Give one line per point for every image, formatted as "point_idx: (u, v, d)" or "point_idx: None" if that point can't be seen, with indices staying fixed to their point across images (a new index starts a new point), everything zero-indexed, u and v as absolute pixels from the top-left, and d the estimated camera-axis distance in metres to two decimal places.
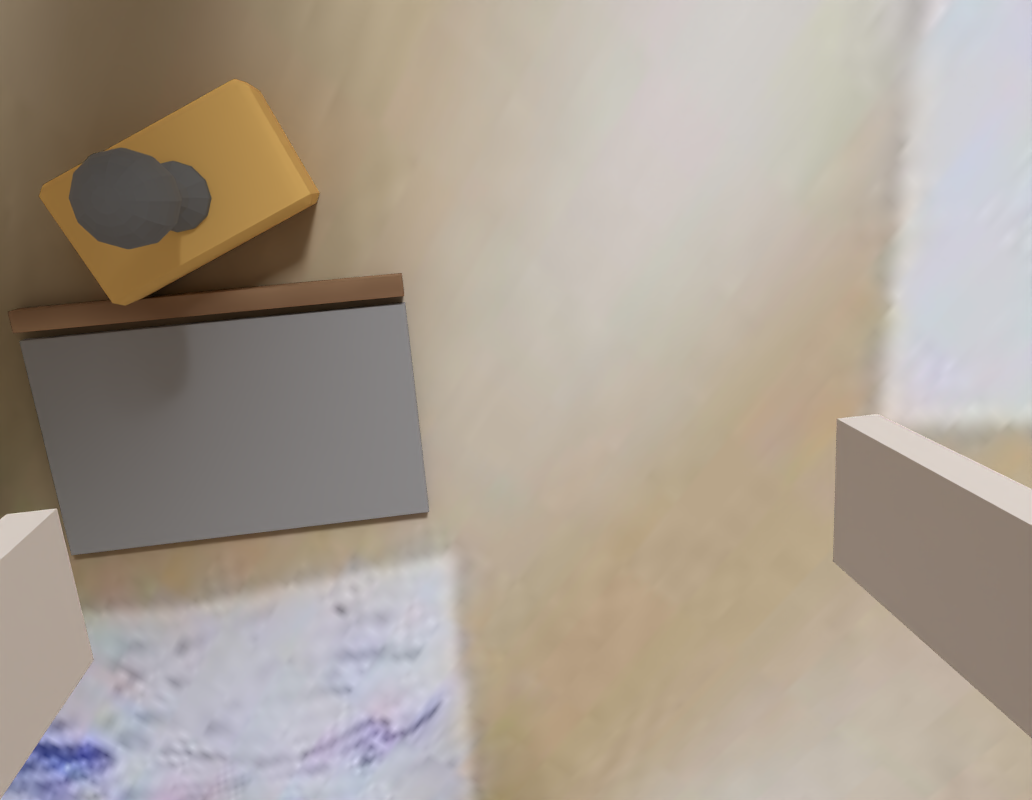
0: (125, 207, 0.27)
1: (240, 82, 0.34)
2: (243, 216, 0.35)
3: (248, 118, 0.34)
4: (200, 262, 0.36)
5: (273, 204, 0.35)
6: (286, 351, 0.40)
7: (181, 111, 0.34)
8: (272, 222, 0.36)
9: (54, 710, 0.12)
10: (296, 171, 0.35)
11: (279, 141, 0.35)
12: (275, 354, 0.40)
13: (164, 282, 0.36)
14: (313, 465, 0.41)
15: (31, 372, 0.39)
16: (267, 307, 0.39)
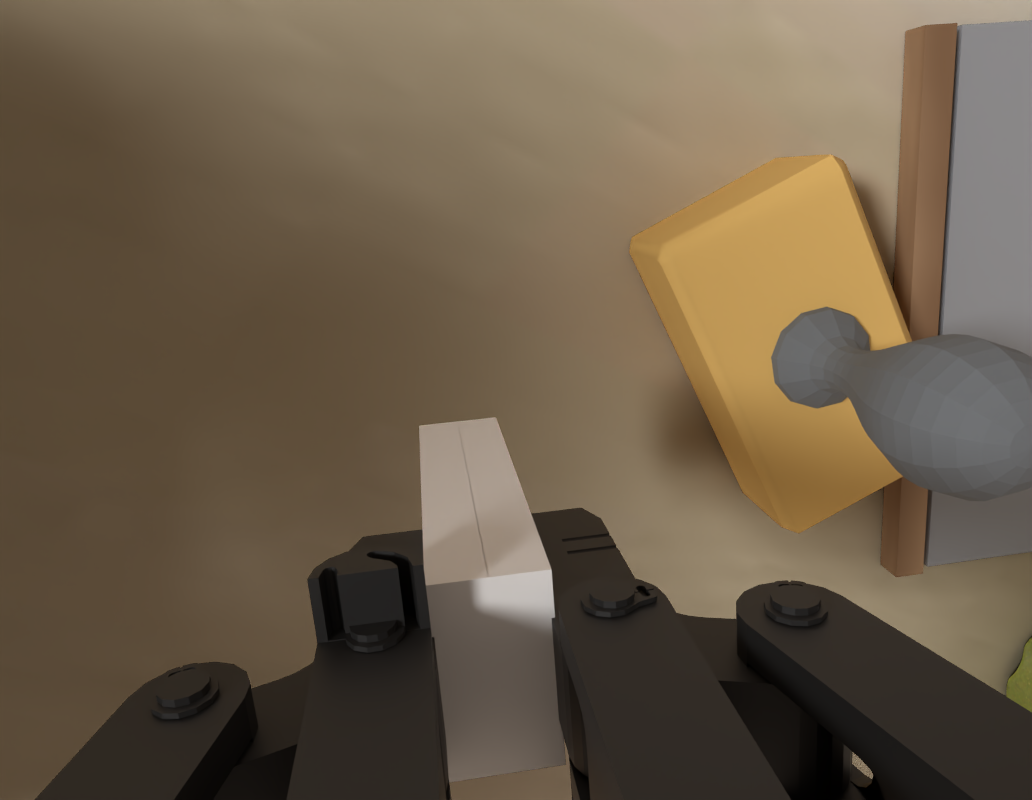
0: None
1: (667, 252, 0.22)
2: (856, 262, 0.23)
3: (721, 243, 0.22)
4: (907, 330, 0.24)
5: (845, 214, 0.22)
6: (1000, 221, 0.26)
7: (703, 340, 0.23)
8: (865, 218, 0.23)
9: None
10: (797, 175, 0.22)
11: (751, 199, 0.22)
12: (1001, 238, 0.26)
13: None
14: None
15: (967, 556, 0.29)
16: (941, 244, 0.26)
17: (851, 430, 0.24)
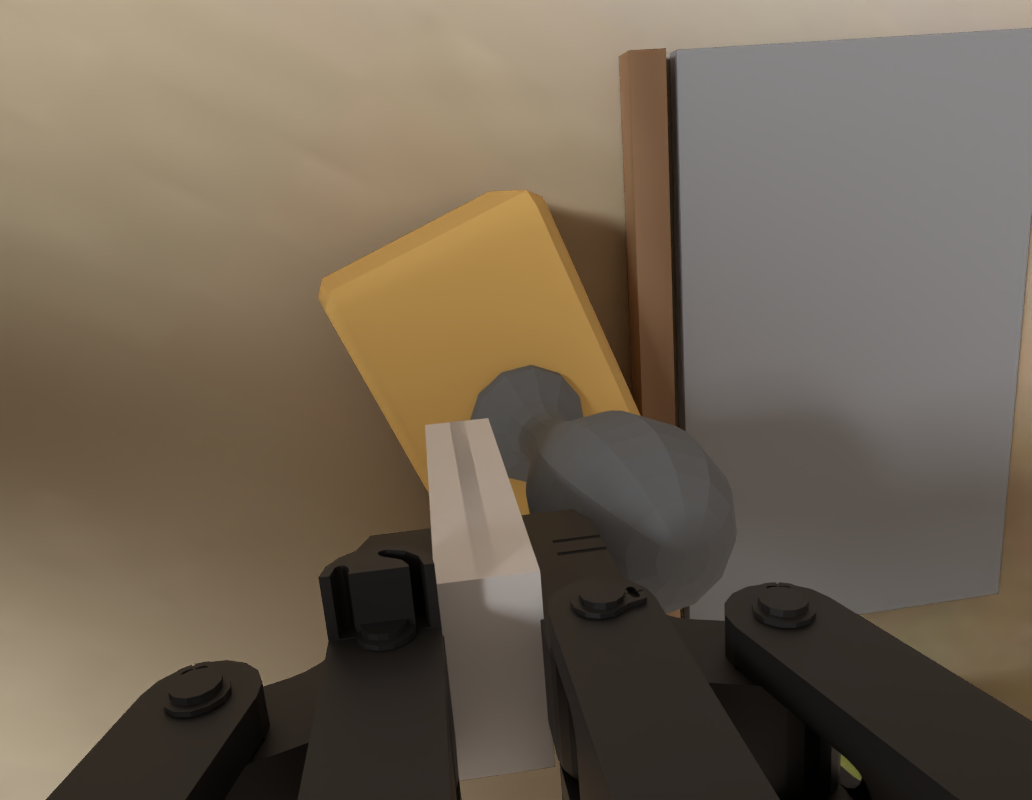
0: (696, 522, 0.13)
1: (333, 301, 0.18)
2: (562, 314, 0.20)
3: (397, 291, 0.19)
4: (627, 389, 0.21)
5: (545, 258, 0.19)
6: (740, 266, 0.24)
7: (386, 405, 0.19)
8: (571, 264, 0.20)
9: None
10: (487, 212, 0.19)
11: (434, 239, 0.19)
12: (743, 284, 0.24)
13: None
14: (930, 232, 0.24)
15: None
16: (669, 291, 0.23)
17: None
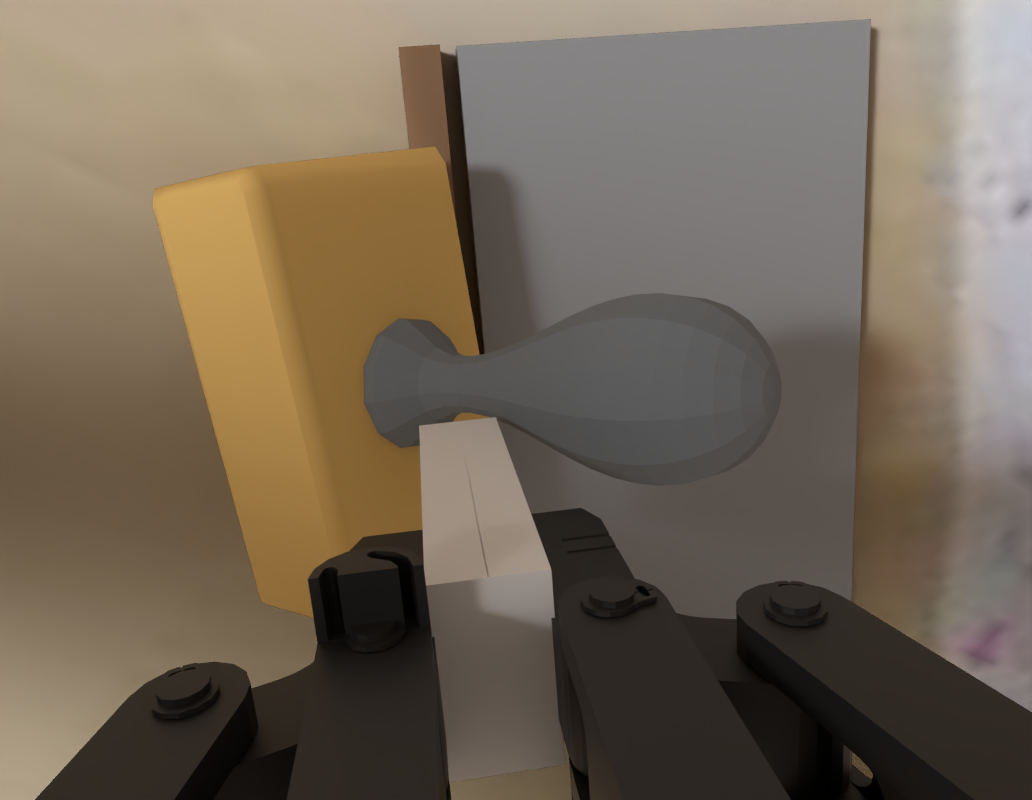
0: (775, 361, 0.14)
1: (256, 175, 0.15)
2: (451, 277, 0.19)
3: (325, 190, 0.16)
4: None
5: (445, 216, 0.19)
6: (542, 277, 0.22)
7: (286, 321, 0.16)
8: None
9: None
10: (404, 151, 0.18)
11: (358, 156, 0.17)
12: (547, 297, 0.22)
13: None
14: (752, 241, 0.23)
15: None
16: None
17: None
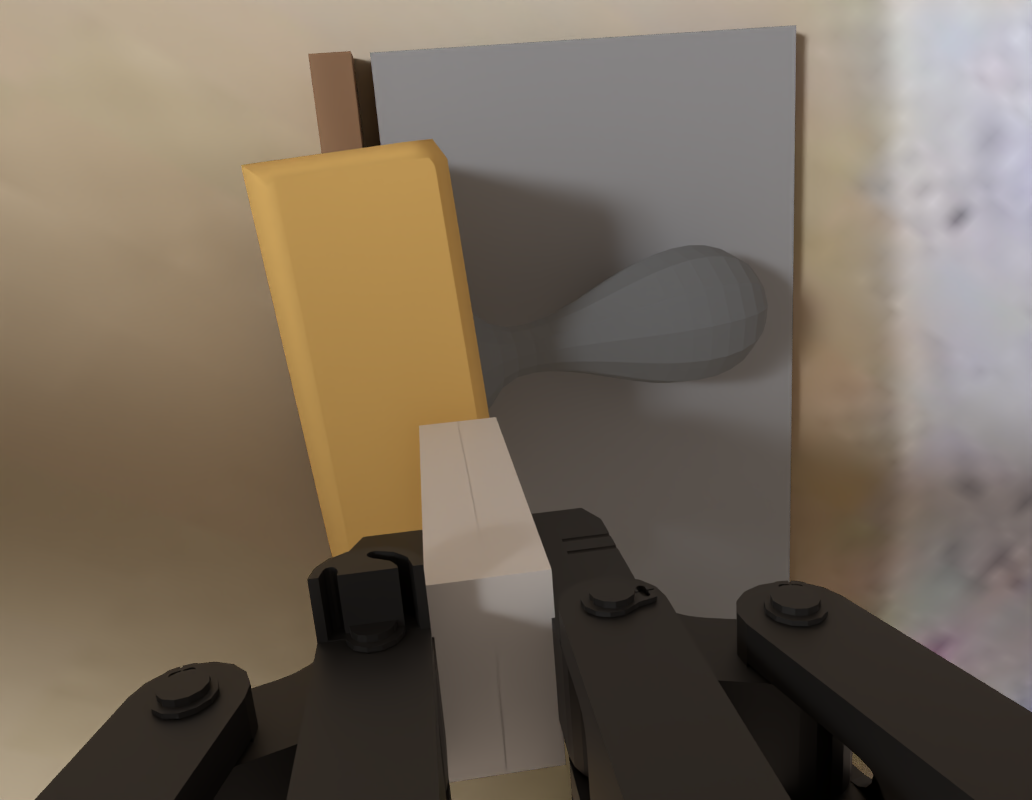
0: None
1: (436, 147, 0.15)
2: None
3: None
4: None
5: None
6: None
7: (462, 291, 0.16)
8: None
9: None
10: None
11: None
12: None
13: None
14: None
15: None
16: None
17: None
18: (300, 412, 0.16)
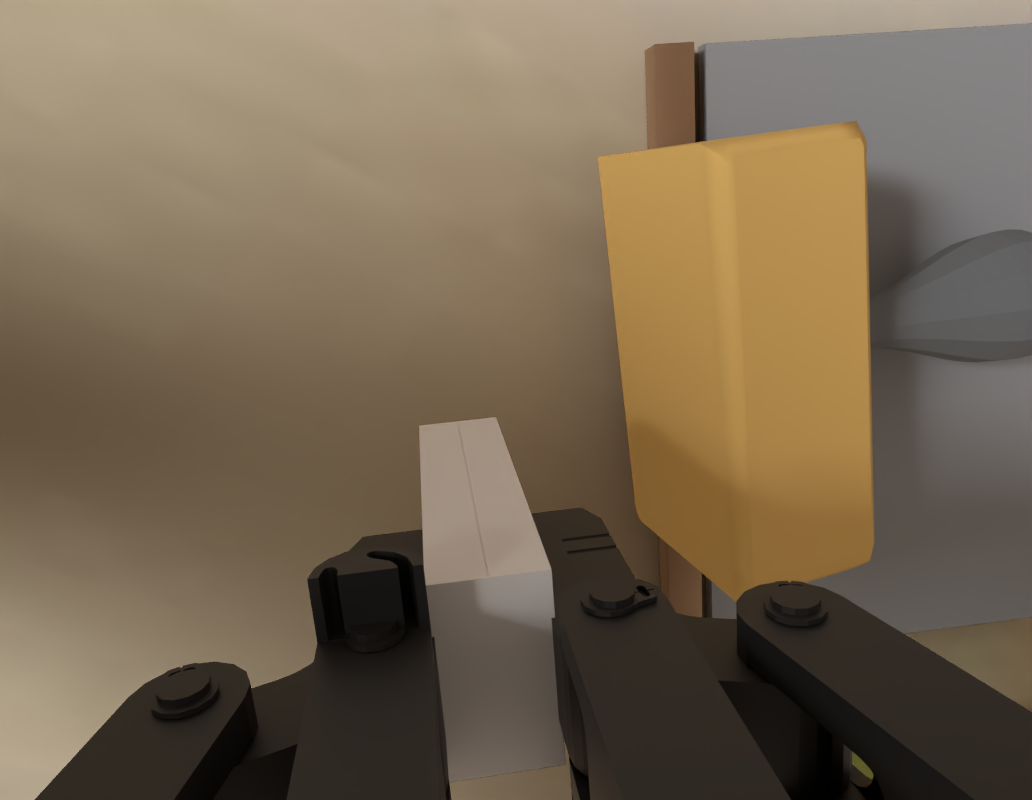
0: None
1: (860, 129, 0.16)
2: None
3: None
4: None
5: None
6: None
7: (867, 265, 0.17)
8: None
9: None
10: None
11: None
12: None
13: None
14: (973, 236, 0.23)
15: None
16: None
17: None
18: (719, 378, 0.17)
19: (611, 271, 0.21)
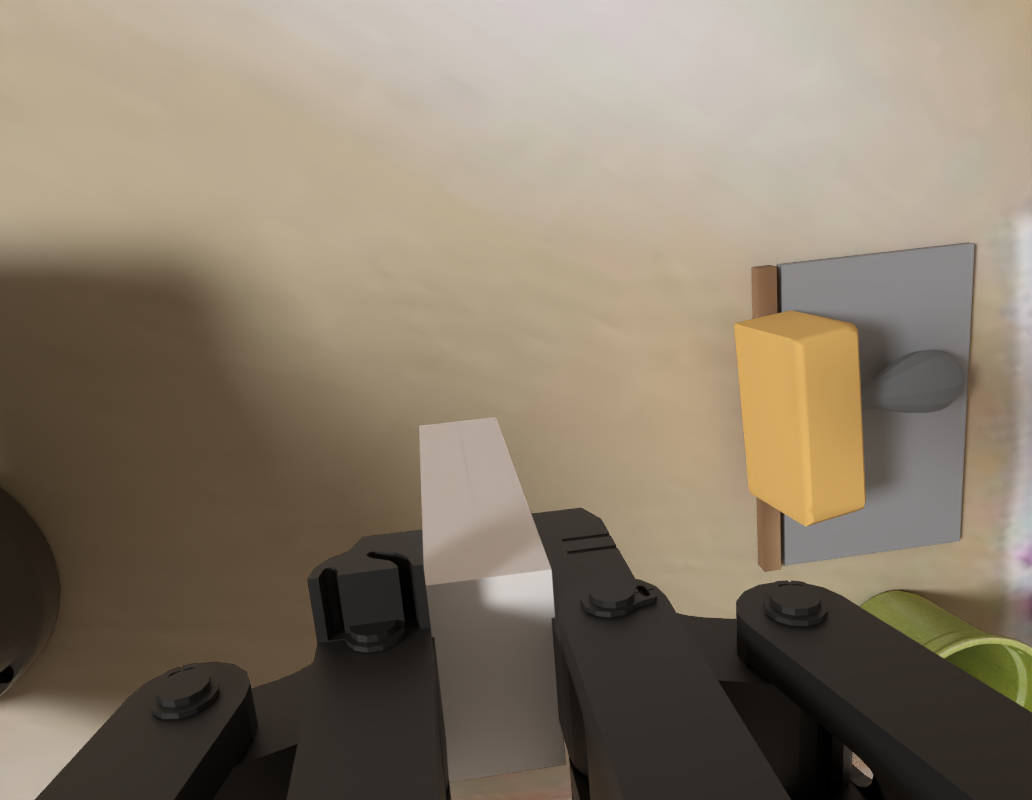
0: None
1: (855, 327, 0.39)
2: None
3: None
4: None
5: None
6: None
7: (859, 381, 0.40)
8: None
9: None
10: (803, 313, 0.43)
11: (819, 316, 0.42)
12: None
13: None
14: (914, 347, 0.46)
15: (810, 559, 0.49)
16: None
17: None
18: (797, 430, 0.40)
19: (739, 374, 0.44)
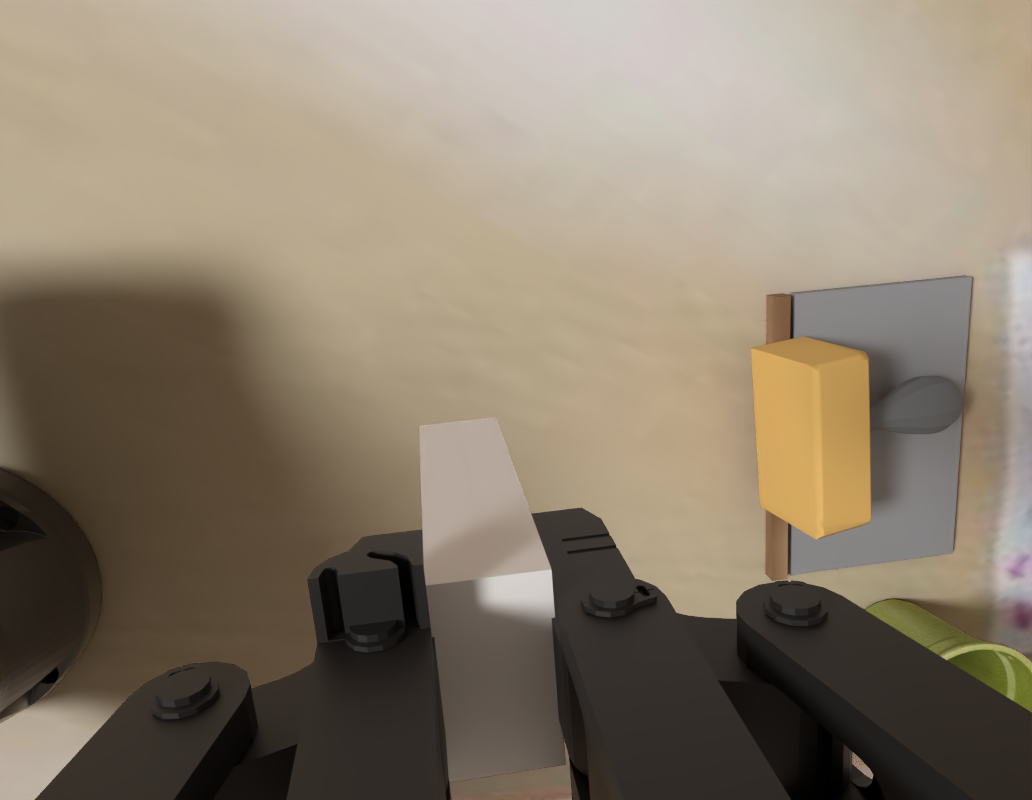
0: None
1: (866, 355, 0.43)
2: None
3: None
4: None
5: None
6: None
7: (869, 405, 0.43)
8: None
9: None
10: (815, 340, 0.46)
11: (831, 343, 0.45)
12: None
13: None
14: (915, 372, 0.49)
15: (814, 569, 0.52)
16: None
17: None
18: (812, 450, 0.43)
19: (754, 396, 0.47)
